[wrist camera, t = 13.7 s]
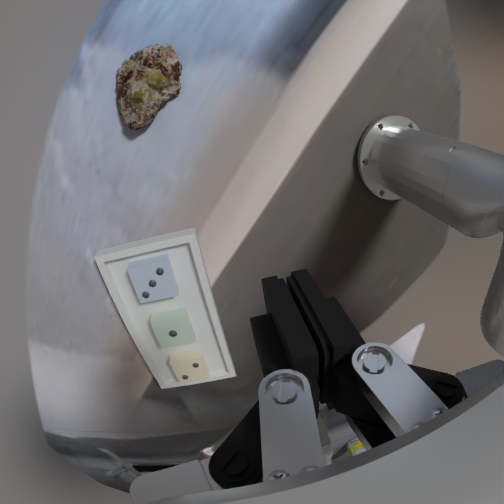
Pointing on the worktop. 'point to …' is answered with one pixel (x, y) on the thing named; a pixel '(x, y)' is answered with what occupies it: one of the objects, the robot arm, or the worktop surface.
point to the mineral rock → (147, 84)
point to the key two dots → (189, 366)
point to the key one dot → (172, 328)
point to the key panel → (169, 303)
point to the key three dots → (153, 278)
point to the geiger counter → (324, 442)
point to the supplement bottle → (355, 447)
